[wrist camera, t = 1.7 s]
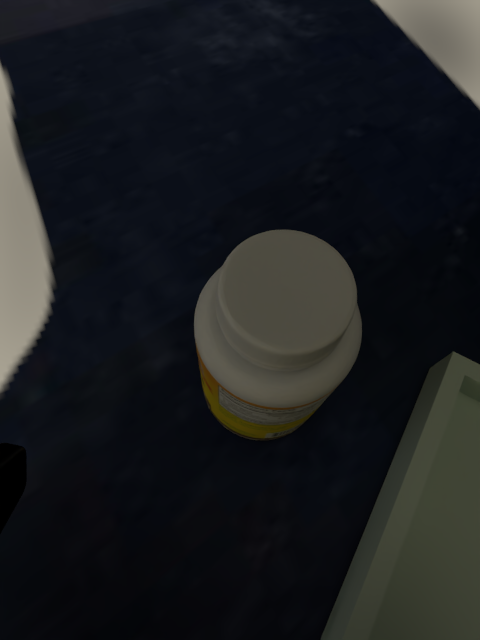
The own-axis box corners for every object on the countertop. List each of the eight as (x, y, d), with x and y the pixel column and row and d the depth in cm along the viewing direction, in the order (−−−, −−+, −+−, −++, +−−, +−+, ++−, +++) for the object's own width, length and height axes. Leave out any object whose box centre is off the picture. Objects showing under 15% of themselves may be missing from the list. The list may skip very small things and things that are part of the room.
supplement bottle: (228, 315, 23) (235, 181, 14) (331, 356, 23) (409, 242, 13) (182, 415, 21) (153, 334, 12) (293, 463, 21) (355, 417, 11)
